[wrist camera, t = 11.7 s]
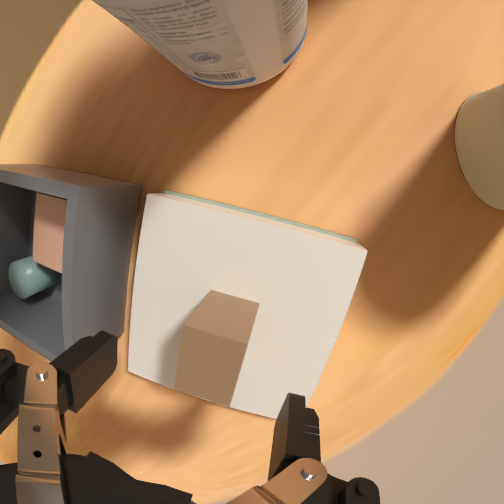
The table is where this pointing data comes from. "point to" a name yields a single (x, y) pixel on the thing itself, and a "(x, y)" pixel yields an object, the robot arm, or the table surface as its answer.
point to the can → (483, 144)
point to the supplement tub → (219, 36)
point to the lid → (236, 303)
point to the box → (63, 254)
